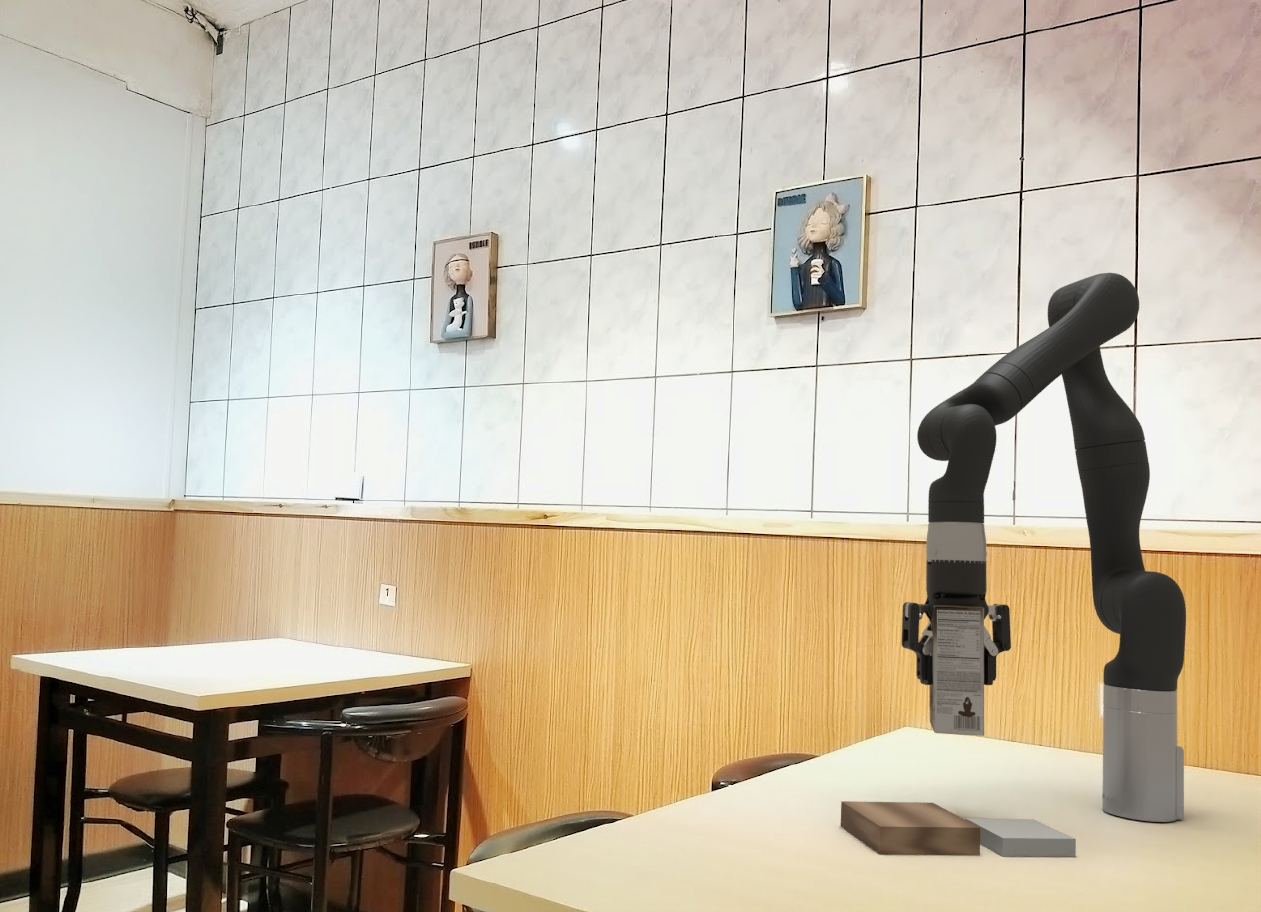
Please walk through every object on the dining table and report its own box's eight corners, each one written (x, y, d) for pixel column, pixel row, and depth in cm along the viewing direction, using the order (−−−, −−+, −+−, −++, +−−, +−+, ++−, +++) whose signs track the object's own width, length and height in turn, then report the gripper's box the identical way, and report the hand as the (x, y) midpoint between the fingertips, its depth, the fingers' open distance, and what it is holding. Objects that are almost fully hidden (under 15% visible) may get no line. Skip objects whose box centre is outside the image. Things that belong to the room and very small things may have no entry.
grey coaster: (1033, 835, 129) (1033, 819, 129) (1075, 856, 120) (1075, 838, 121) (964, 835, 128) (965, 818, 128) (1002, 856, 119) (1002, 838, 119)
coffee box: (927, 722, 141) (927, 602, 143) (977, 725, 140) (977, 603, 141) (933, 733, 132) (933, 604, 134) (986, 736, 131) (986, 606, 132)
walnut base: (932, 827, 131) (933, 802, 131) (979, 854, 119) (980, 827, 119) (840, 826, 129) (841, 801, 129) (879, 854, 117) (880, 826, 117)
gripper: (992, 559, 142) (992, 681, 141) (892, 556, 140) (892, 680, 138) (1021, 559, 135) (1022, 688, 133) (917, 556, 133) (917, 688, 131)
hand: (956, 684), depth 136 cm, fingers closed on coffee box, 8 cm apart
